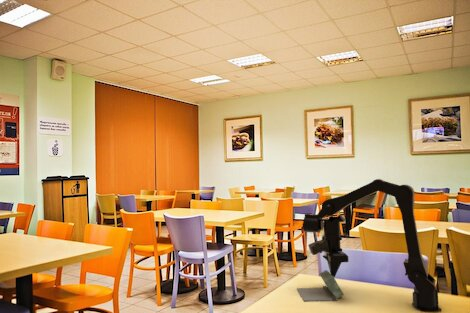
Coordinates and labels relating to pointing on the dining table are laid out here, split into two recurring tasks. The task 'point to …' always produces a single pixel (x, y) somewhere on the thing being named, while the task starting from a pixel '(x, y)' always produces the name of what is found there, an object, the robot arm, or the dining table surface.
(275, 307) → the dining table surface
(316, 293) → the slate board
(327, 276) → the grey-green rectangular block
